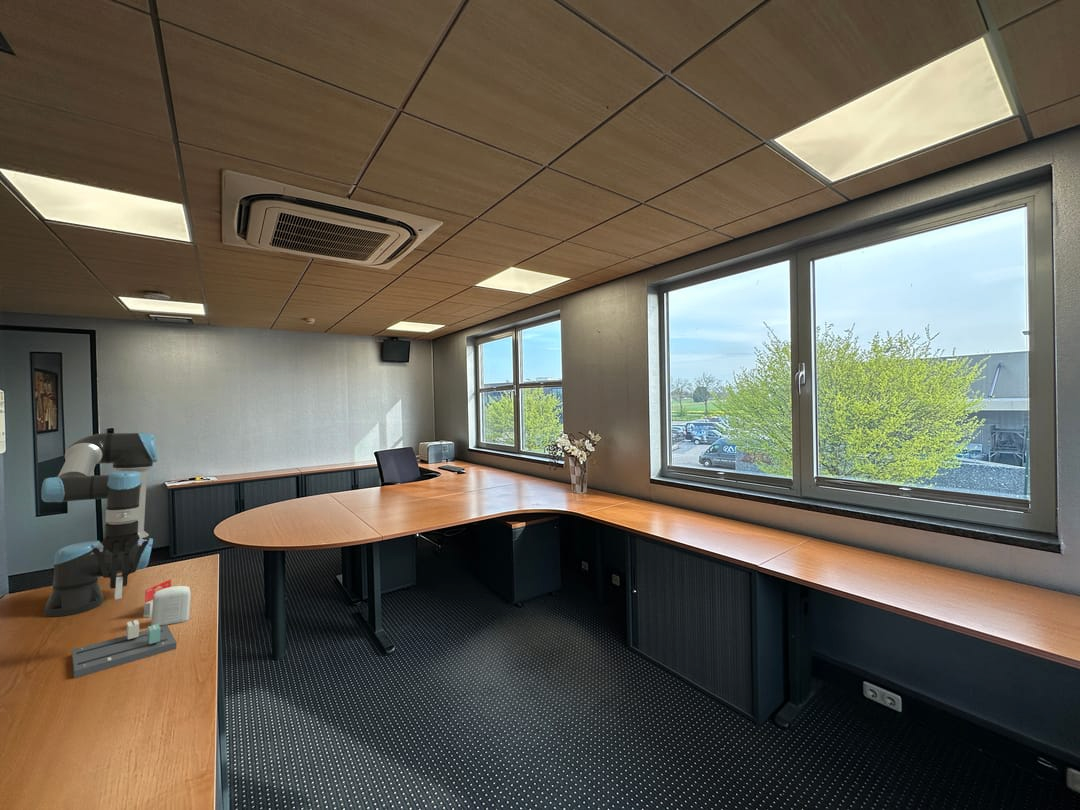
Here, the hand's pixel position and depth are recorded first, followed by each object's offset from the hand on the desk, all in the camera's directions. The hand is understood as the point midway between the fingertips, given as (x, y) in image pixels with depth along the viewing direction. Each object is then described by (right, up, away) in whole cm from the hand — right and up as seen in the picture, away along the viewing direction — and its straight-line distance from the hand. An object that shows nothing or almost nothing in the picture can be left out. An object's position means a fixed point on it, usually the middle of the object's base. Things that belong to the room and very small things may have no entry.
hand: (117, 597), depth 136 cm
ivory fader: (+2, -14, +3) cm, 14 cm away
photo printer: (+2, -17, +18) cm, 24 cm away
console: (+4, -16, -2) cm, 17 cm away
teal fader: (+11, -14, 0) cm, 18 cm away
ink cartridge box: (-10, -17, +26) cm, 33 cm away
